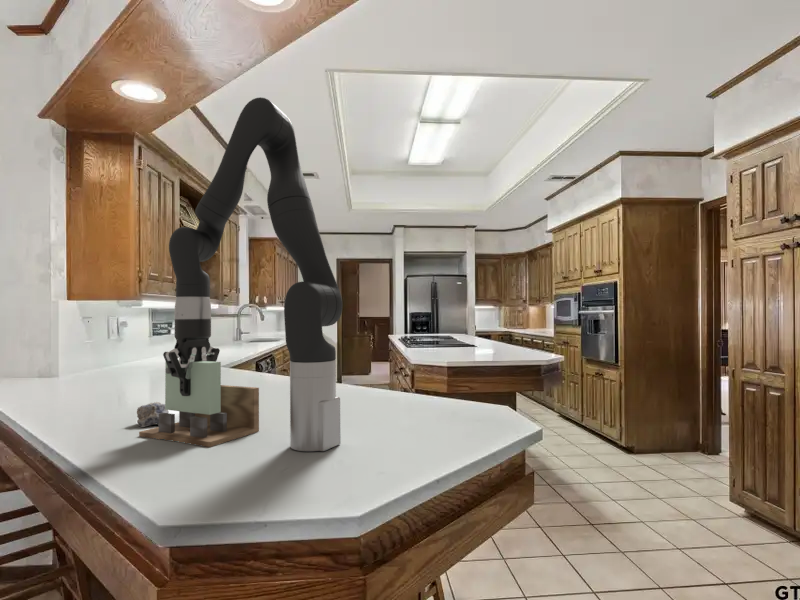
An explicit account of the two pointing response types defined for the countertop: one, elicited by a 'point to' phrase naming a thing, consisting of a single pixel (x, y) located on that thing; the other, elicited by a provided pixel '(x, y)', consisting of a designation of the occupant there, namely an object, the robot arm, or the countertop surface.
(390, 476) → the countertop surface
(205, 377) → the cabinet door
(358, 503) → the countertop surface
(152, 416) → the mineral specimen
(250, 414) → the hinge base
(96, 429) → the countertop surface
